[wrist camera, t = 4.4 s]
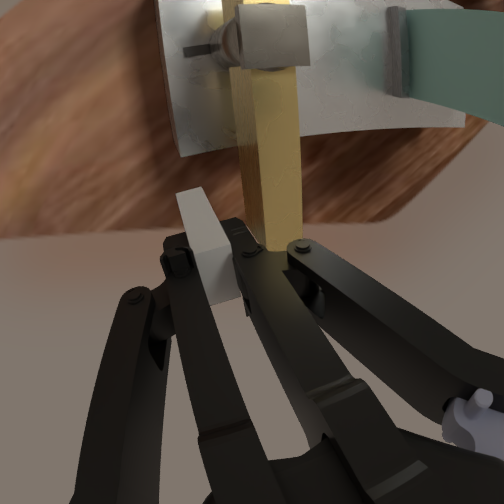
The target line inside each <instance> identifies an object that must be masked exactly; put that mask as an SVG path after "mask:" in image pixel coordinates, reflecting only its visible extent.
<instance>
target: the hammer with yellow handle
mask: <svg viewBox="0 0 504 504" xmlns="http://www.w3.org/2000/svg"><path fill="white" fill-rule="evenodd" d="M221 1H222V10H223V19H224V23H223V24H222V25H220V26H219V27H218V28H217V29H216V30H215V31H214V33H213V35H212V37H211V41H210V51H211V54H212V57H213V59H214V60H215V61H216V63H217V64H218V65H220V66H221V67H222V68H224V69H226V70H228V71H229V73H230V82H231V91H232V100H233V108H234V117H235V126H236V135H237V144H238V153H239V161H240V170H241V179H242V188H243V196H244V205H245V214H246V222H247V226H248V228H249V229H250V230H251V232H252V233H253V235H254V236H255V238H256V239H257V241H258V242H259V244H261V245H263V246H265V247H266V248H267V250H268V251H285V250H287V245H288V244H289V243H290V242H292V241H293V240H297V239H303V236H302V234H303V233H302V180H301V152H300V130H299V111H298V94H297V80H296V66H310V52H309V40H308V29H307V18H306V8H305V5H292V4H290V2H289V0H221Z"/></svg>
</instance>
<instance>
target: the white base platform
mask: <svg viewBox="0 0 504 504" xmlns="http://www.w3.org/2000/svg"><path fill="white" fill-rule="evenodd" d="M289 2H290V4H292V5H305V8H306V18H307V29H308V40H309V52H310V66H296V80H297V94H298V111H299V130H300V137H301V136H309V135H317V134H326V133H336V132H347V131H359V130H373V129H390V128H416V127H465V115H466V113H464V112H461V111H458V110H454V109H451V108H448V107H444V106H441V105H437V104H433V103H430V102H426V101H422V100H418V99H414V98H409V90H410V79H409V44H408V28H407V16H406V10H414V9H464V7H462V6H460V5H457V4H455V3H453V2H451V1H449V0H289ZM154 7H155V16H156V25H157V33H158V42H159V49H160V57H161V64H162V71H163V78H164V85H165V92H166V98H167V104H168V111H169V117H170V123H171V129H172V134H173V140H174V143H175V145H176V148H177V150H178V152H179V154H180V157H185V156H190V155H195V154H199V153H204V152H209V151H214V150H219V149H224V148H230V147H235V146H238V144H237V135H236V126H235V117H234V108H233V100H232V91H231V82H230V73H229V71H228V70H226V69H224V68H222V67H221V66H220V65H218V64H217V63H216V61H215V60H214V59H213V57H212V54H211V51H210V41H211V37H212V35H213V33H214V31H215V30H216V29H217V28H218V27H219V26H220V25H222V24H223V23H224V19H223V10H222V1H221V0H154Z"/></svg>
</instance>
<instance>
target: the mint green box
mask: <svg viewBox="0 0 504 504" xmlns="http://www.w3.org/2000/svg"><path fill="white" fill-rule="evenodd" d="M406 16H407V28H408V44H409V79H410V90H409V98H414V99H418V100H422V101H426V102H430V103H433V104H437V105H441V106H444V107H448V108H451V109H454V110H458V111H461V112H464V113H467V114H470V115H473V116H476V117H479V118H482V119H485V120H488V121H490V122H493V123H496V124H499V125H501V126H504V12H496V11H485V10H470V9H414V10H406Z"/></svg>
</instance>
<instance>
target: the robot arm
mask: <svg viewBox="0 0 504 504" xmlns="http://www.w3.org/2000/svg"><path fill="white" fill-rule="evenodd" d="M175 194H176V198H177V202H178V206H179V209H180V213H181V217H182V221H183V225H184V229H185V232H183V233H179V234H176V235H172V236H169V237H166V239H165V241H164V242H163V248H164V252H163V254H162V255H161V256H160V263H161V265H162V268H163V271H164V274H165V276H166V279H165V281H164V282H163V283H162V284H161V285H160V286H158V287H157V288H155V289H153V290H151V291H150V290H149V288H147V287H144V286H142V287H141V286H138V287H135V288H132V289H130V290H128V291H126V293H124V294H123V295H122V297H121V299H120V301H119V304H118V307H117V310H116V314H115V317H114V320H113V323H112V326H111V329H110V333H109V336H108V339H107V343H106V346H105V350H104V353H103V357H102V360H101V364H100V368H99V371H98V375H97V379H96V383H95V387H94V391H93V395H92V399H91V403H90V408H89V412H88V417H87V421H86V427H85V431H84V436H83V441H82V447H81V452H80V458H79V464H78V470H77V477H76V484H75V491H74V495H73V496H72V498H71V501H70V503H69V504H159V481H160V461H161V460H160V459H161V445H162V431H163V417H164V406H165V396H166V385H167V375H168V366H169V357H170V349H171V342H172V341H171V336H173V335H175V334H176V338H177V343H178V347H179V352H180V357H181V361H182V366H183V371H184V375H185V380H186V384H187V388H188V392H189V396H190V401H191V405H192V408H193V413H194V416H195V420H196V424H197V427H198V431H199V436H198V445H199V449H200V453H201V456H202V460H203V464H204V467H205V470H206V473H207V477H208V480H209V483H210V486H211V490H212V492H211V493H210V494H209V495H208V496H207V498H206V499H205V501H204V502H203V504H504V359H503V358H500V357H498V356H495V355H492V354H489V353H486V352H483V351H481V350H478V349H475V348H473V347H471V346H470V345H469V344H467V343H466V342H464V341H463V340H462V339H460V338H459V337H458V336H456V335H454V334H453V333H452V332H450V331H449V330H448V329H446V328H445V327H443V326H442V325H441V324H439V323H438V322H436V321H435V320H434V319H432V318H431V317H429V316H428V315H426V314H425V313H423V312H422V311H421V310H419V309H417V308H416V307H415V306H413V305H412V304H410V303H409V302H407V301H406V300H404V299H403V298H402V297H400V296H399V295H397V294H396V293H394V292H393V291H391V290H390V289H388V288H387V287H385V286H383V285H382V284H381V283H379V282H378V281H376V280H375V279H373V278H372V277H370V276H368V275H367V274H365V273H364V272H362V271H361V270H359V269H358V268H356V267H355V266H353V265H352V264H350V263H349V262H347V261H345V260H344V259H342V258H341V257H339V256H338V255H336V254H334V253H333V252H331V251H330V250H328V249H327V248H325V247H324V246H322V245H320V244H318V243H317V242H315V241H313V240H311V239H297V240H293V241H292V242H290V243H289V244H288V245H287V251H268V250H267V248H266V247H265V246H263V245H261V244H258V243H257V242H256V241H255V239H254V237H253V236H252V235H251V233H250V231H249V230H248V229H247V227H246V225H245V224H244V222H243V221H242V220H240V219H238V218H236V217H234V218H231V219H227V220H223V221H220V222H219V220H218V218H217V217H216V215H215V213H214V211H213V209H212V207H211V205H210V203H209V201H208V199H207V197H206V195H205V193H204V191H203V189H202V187H198V188H194V189H190V190H186V191H183V192H179V193H175ZM240 291H241V293H242V296H243V301H244V306H245V311H246V316H247V317H248V316H250V318H251V321H252V322H253V325H254V327H255V329H256V331H257V334H258V336H259V338H260V340H261V342H262V344H263V346H264V349H265V351H266V353H267V355H268V357H269V359H270V361H271V364H272V366H273V368H274V370H275V372H276V374H277V376H278V378H279V380H280V383H281V384H282V387H283V389H284V391H285V393H286V395H287V397H288V399H289V401H290V403H291V405H292V407H293V410H294V412H295V414H296V416H297V418H298V420H299V422H300V424H301V426H302V428H303V430H304V432H305V434H306V437H307V440H308V444H309V447H310V450H309V451H308V452H306V453H305V454H303V455H302V456H299V457H293V458H286V459H277V460H268V459H267V457H266V455H265V452H264V450H263V447H262V445H261V442H260V440H259V438H258V435H257V432H256V430H255V428H254V425H253V423H252V421H251V419H250V416H249V414H248V411H247V409H246V406H245V403H244V401H243V398H242V396H241V393H240V390H239V388H238V385H237V382H236V379H235V377H234V374H233V371H232V369H231V366H230V363H229V360H228V357H227V354H226V352H225V349H224V346H223V343H222V340H221V338H220V334H219V332H218V329H217V326H216V323H215V320H214V317H213V314H212V311H211V308H210V306H212V305H215V304H218V303H222V302H225V301H228V300H231V299H235V298H238V297H241V294H240ZM318 325H319V326H320V327H321V328H322V329H323V330H324V331H325V332H327V333H328V334H329V335H330V336H331V337H332V338H333V339H334V340H336V341H337V342H338V343H339V344H340V345H341V346H342V347H344V348H345V349H346V350H347V351H348V352H349V353H351V354H352V355H353V356H354V357H355V358H356V359H357V360H359V361H360V362H361V363H362V364H363V365H364V366H365V367H367V368H368V369H369V370H370V371H371V372H372V373H374V374H375V375H376V376H377V377H378V378H379V379H380V380H382V381H383V382H384V383H385V384H386V385H387V386H389V387H390V388H391V389H392V390H393V391H394V392H396V393H397V394H398V395H399V396H400V397H401V398H403V399H404V400H405V401H406V402H407V403H408V404H410V405H411V406H412V407H413V408H414V409H416V410H417V411H418V412H419V413H421V414H422V415H423V416H425V417H427V418H428V419H430V420H432V421H434V422H435V423H437V424H440V425H442V431H443V433H442V436H443V439H444V440H445V441H446V442H449V443H451V442H453V443H454V444H455V445H456V446H457V447H456V446H453V445H450V444H446V443H443V442H440V441H436V440H433V439H430V438H427V437H424V436H421V435H418V434H415V433H412V432H409V431H406V430H404V429H400V428H397V427H396V426H395V424H394V423H393V421H392V420H391V418H390V417H389V415H388V414H387V412H386V411H385V409H384V408H383V406H382V405H381V403H380V402H379V400H378V399H377V397H376V396H375V394H374V393H373V392H372V390H371V388H370V387H369V386H368V384H367V383H366V382H365V381H364V380H362V379H360V378H359V379H355V378H354V377H353V376H352V375H351V374H350V372H349V371H348V370H347V368H346V366H345V365H344V363H343V362H342V360H341V359H340V357H339V356H338V354H337V353H336V351H335V350H334V348H333V347H332V345H331V344H330V342H329V341H328V339H327V338H326V336H325V335H324V333H323V332H322V330H321V329H320V327H319V326H318Z"/></svg>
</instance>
